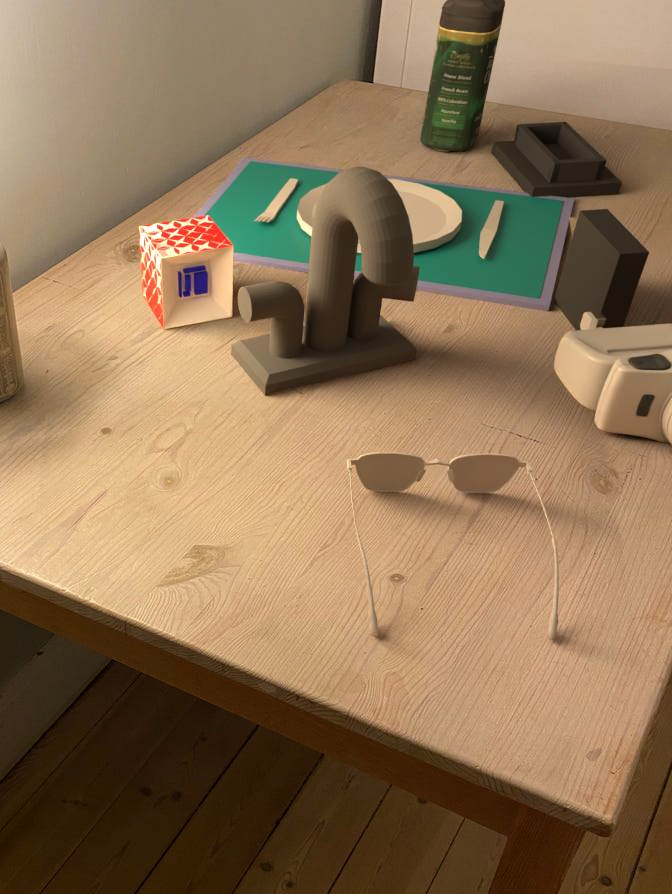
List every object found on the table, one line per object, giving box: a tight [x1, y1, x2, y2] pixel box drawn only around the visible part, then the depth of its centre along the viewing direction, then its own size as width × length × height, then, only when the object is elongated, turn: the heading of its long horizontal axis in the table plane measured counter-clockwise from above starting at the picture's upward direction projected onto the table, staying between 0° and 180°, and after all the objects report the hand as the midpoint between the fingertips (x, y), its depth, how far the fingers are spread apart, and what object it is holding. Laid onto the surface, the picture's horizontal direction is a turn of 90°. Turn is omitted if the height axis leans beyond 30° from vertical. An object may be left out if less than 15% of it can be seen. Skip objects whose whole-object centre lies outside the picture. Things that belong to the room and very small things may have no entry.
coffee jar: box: [419, 0, 506, 153], centre depth 130 cm, size 10×8×19 cm
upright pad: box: [553, 208, 650, 330], centre depth 98 cm, size 10×3×10 cm, turn 6°
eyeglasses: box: [346, 451, 560, 641], centre depth 75 cm, size 15×18×4 cm
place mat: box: [192, 156, 575, 312], centre depth 118 cm, size 45×30×2 cm
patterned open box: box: [138, 215, 234, 330], centre depth 102 cm, size 8×8×8 cm
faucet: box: [230, 166, 420, 396], centre depth 88 cm, size 18×16×20 cm
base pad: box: [490, 121, 623, 198], centre depth 128 cm, size 16×12×4 cm
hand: (635, 314), depth 92 cm, fingers open, 8 cm apart
